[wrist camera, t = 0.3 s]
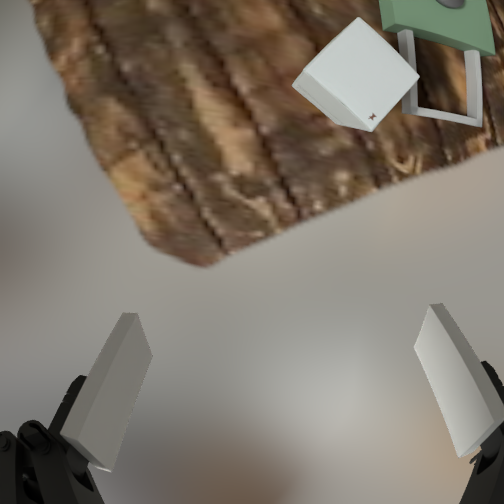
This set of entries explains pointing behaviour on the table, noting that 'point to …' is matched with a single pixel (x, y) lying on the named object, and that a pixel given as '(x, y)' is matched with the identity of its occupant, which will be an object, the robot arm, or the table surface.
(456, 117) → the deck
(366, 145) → the table surface
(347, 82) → the supplement box
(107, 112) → the table surface
